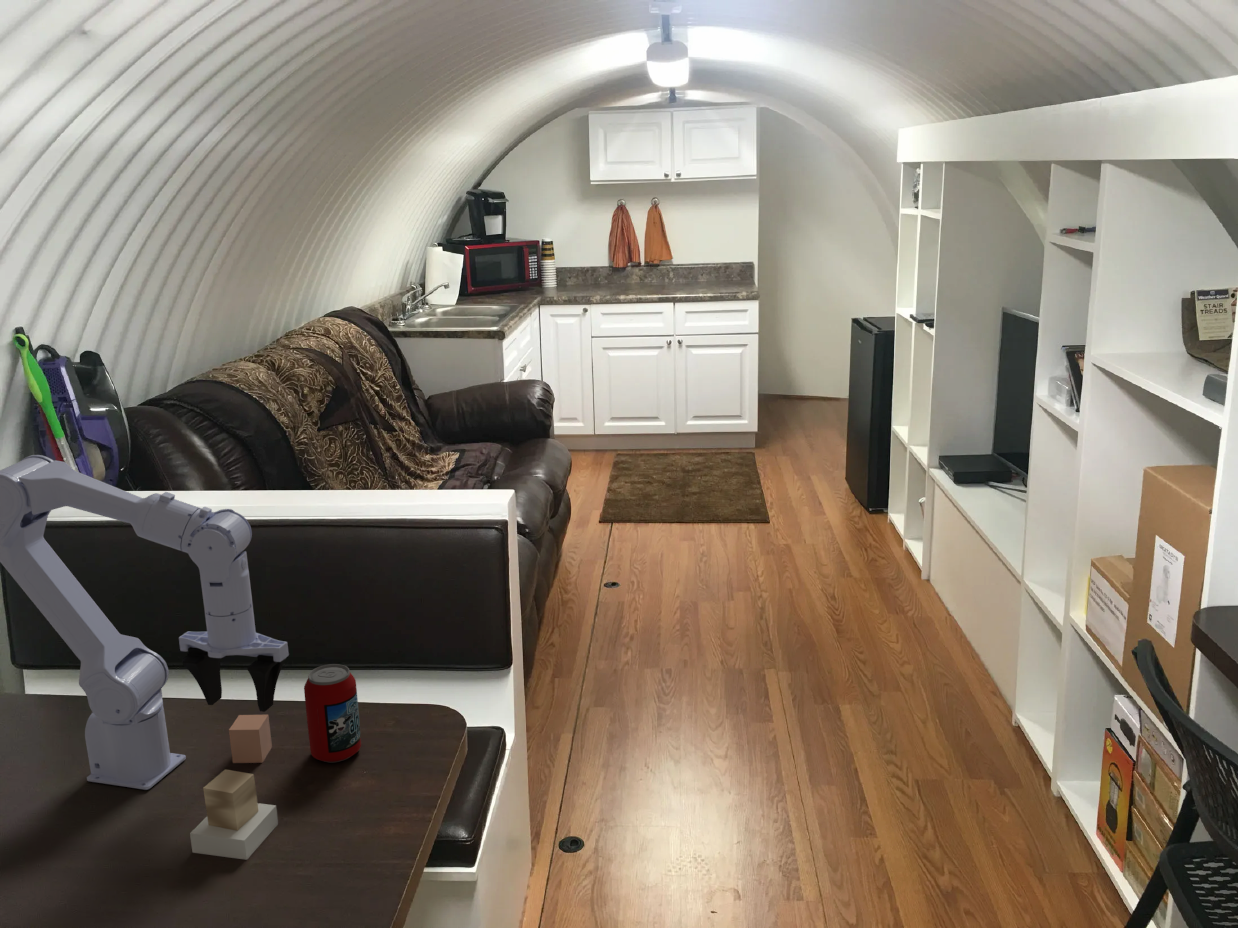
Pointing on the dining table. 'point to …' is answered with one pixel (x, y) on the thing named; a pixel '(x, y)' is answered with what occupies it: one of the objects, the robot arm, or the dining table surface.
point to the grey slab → (235, 835)
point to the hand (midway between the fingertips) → (240, 704)
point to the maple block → (231, 799)
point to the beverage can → (332, 713)
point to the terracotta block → (250, 738)
